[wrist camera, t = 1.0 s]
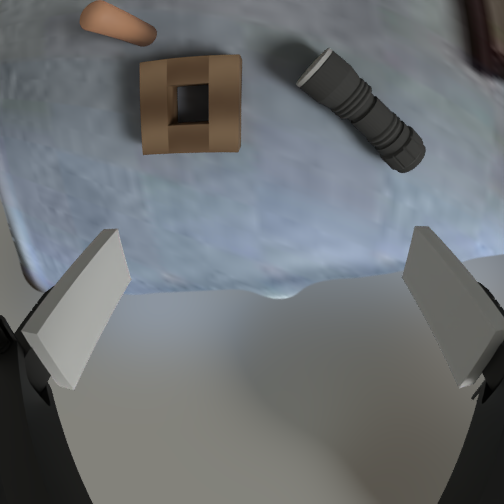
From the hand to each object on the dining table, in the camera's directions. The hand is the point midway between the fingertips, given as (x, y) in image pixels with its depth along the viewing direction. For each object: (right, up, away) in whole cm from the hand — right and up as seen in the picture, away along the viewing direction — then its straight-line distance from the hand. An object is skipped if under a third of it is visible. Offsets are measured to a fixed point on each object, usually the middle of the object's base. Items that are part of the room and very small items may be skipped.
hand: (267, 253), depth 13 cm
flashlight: (+11, +16, +17) cm, 26 cm away
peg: (-13, +24, +13) cm, 30 cm away
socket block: (-7, +16, +17) cm, 25 cm away
